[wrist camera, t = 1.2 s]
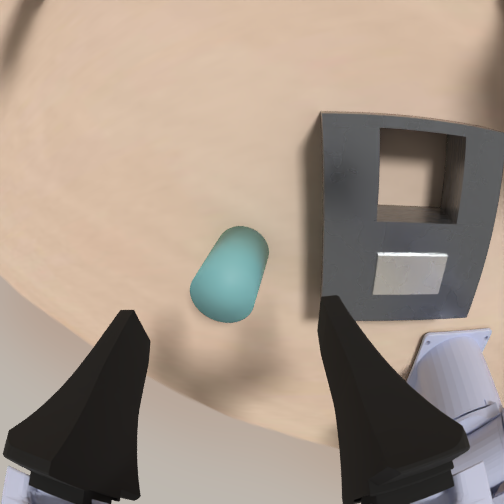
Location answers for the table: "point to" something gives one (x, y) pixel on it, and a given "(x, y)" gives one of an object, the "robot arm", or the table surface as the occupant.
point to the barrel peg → (231, 275)
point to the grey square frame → (406, 221)
